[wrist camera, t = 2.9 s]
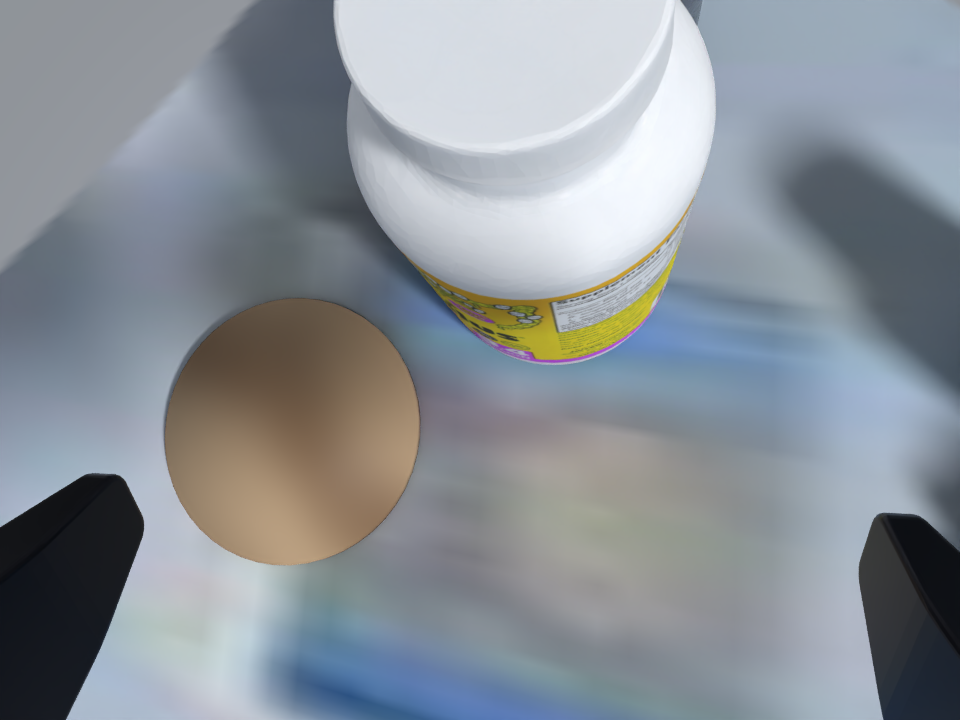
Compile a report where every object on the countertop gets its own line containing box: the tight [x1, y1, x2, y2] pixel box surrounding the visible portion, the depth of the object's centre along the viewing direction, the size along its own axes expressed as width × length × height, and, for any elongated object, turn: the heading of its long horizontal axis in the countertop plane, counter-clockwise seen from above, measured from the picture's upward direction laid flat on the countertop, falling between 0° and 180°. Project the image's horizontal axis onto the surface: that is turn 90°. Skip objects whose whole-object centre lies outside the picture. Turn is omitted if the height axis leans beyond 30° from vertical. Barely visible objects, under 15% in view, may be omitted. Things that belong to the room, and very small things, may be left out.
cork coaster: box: [165, 298, 420, 565], centre depth 23 cm, size 8×8×1 cm
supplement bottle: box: [333, 0, 716, 365], centre depth 16 cm, size 7×7×13 cm
